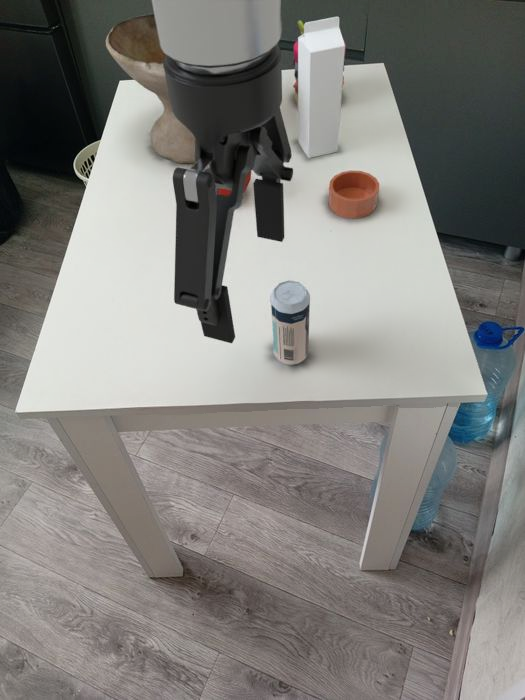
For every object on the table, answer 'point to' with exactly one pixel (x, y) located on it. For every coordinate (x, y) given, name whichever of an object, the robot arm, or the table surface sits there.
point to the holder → (353, 194)
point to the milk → (320, 86)
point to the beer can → (290, 321)
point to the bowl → (151, 82)
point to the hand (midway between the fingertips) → (247, 283)
